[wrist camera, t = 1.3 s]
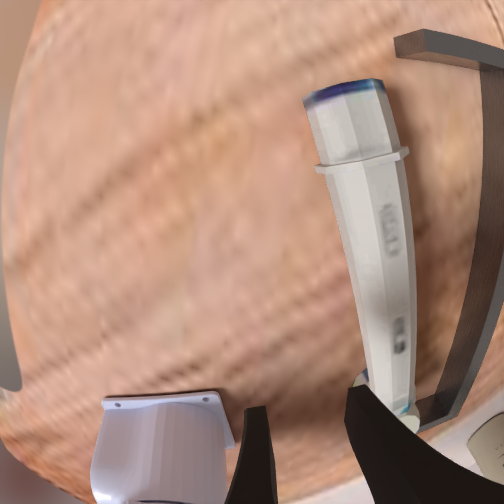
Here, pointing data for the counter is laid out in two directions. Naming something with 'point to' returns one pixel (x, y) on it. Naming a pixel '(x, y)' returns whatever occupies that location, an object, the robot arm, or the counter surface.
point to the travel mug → (490, 448)
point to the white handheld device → (373, 231)
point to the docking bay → (489, 225)
